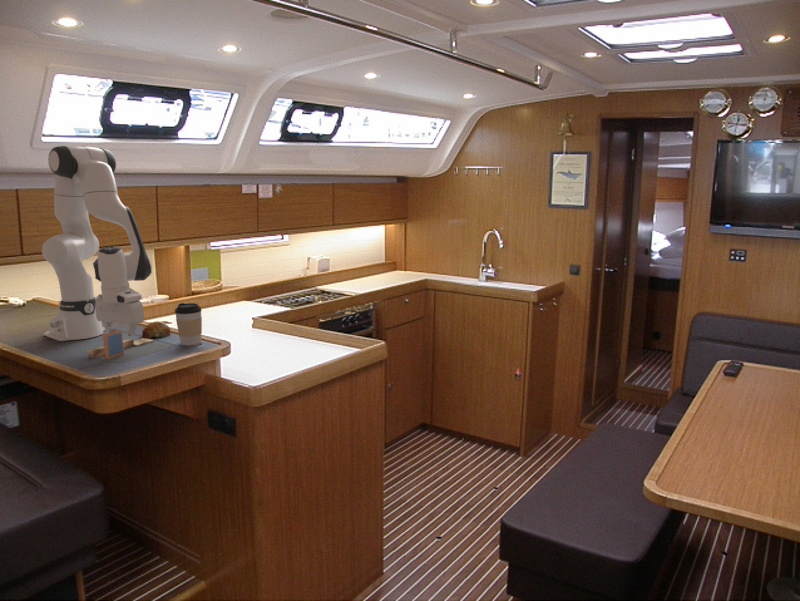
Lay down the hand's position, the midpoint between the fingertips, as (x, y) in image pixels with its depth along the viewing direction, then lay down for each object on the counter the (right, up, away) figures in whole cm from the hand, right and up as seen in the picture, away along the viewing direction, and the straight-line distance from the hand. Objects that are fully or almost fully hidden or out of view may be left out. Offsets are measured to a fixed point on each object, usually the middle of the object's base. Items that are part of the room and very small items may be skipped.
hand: (122, 334), depth 221 cm
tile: (+1, -7, -7) cm, 10 cm away
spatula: (-1, -5, +1) cm, 5 cm away
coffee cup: (+21, -4, +8) cm, 23 cm away
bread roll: (+5, -3, +19) cm, 20 cm away
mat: (+4, -6, -1) cm, 8 cm away
